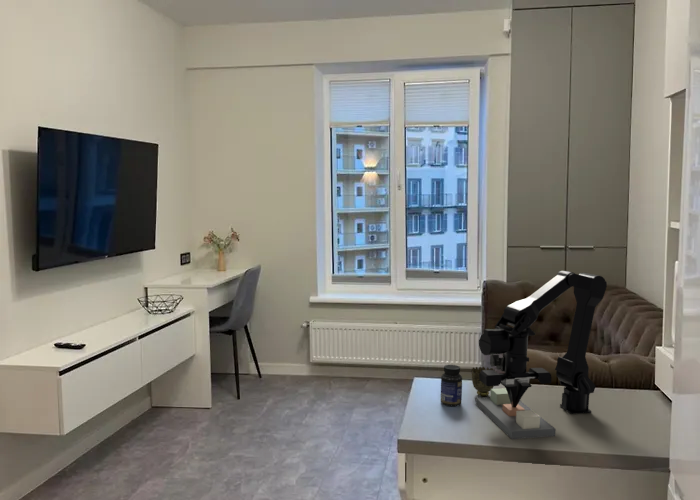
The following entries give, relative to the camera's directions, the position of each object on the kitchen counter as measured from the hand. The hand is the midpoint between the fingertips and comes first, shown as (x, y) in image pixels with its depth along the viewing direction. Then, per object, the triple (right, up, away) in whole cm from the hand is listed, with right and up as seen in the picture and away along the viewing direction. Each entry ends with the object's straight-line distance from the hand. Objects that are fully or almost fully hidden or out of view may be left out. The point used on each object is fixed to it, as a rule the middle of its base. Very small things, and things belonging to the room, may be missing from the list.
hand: (513, 406), depth 167 cm
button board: (0, -4, 0) cm, 4 cm away
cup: (-4, -2, +19) cm, 19 cm away
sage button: (-2, -1, +9) cm, 9 cm away
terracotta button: (0, -3, 0) cm, 3 cm away
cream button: (+1, -3, -8) cm, 9 cm away
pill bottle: (-15, -2, +12) cm, 20 cm away
